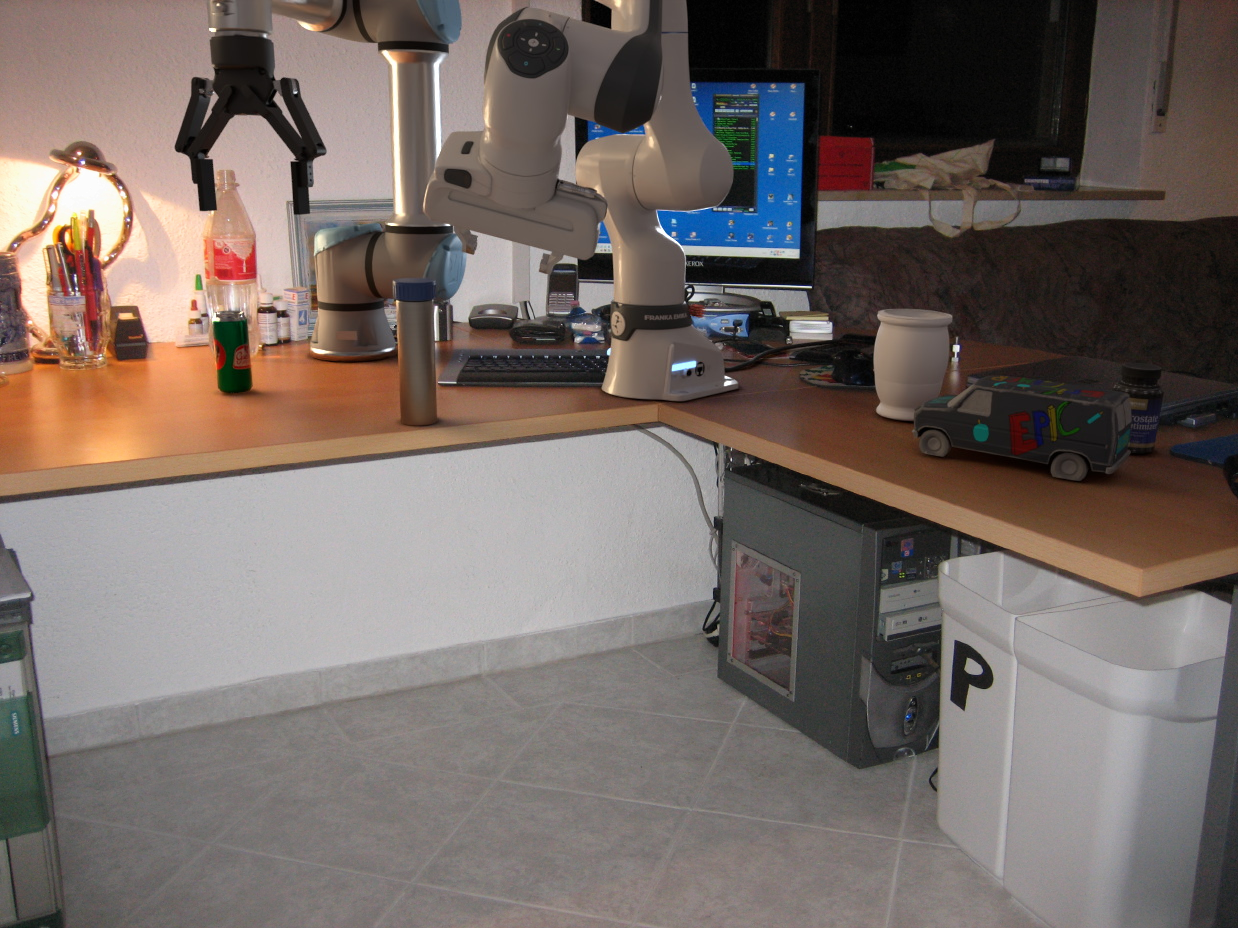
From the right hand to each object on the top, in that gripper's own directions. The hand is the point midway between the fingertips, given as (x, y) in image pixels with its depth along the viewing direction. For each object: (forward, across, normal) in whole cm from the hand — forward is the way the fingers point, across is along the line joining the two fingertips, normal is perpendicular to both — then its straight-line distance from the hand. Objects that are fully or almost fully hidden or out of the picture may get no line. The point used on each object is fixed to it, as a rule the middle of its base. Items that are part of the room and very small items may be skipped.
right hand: (507, 260), depth 128 cm
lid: (+15, +13, -6) cm, 21 cm away
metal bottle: (+29, +9, +5) cm, 31 cm away
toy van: (+8, -68, +3) cm, 68 cm away
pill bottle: (+10, -84, -5) cm, 85 cm away
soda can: (+44, +40, -2) cm, 59 cm away
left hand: (+10, +34, -6) cm, 36 cm away
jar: (+24, -59, -13) cm, 65 cm away
